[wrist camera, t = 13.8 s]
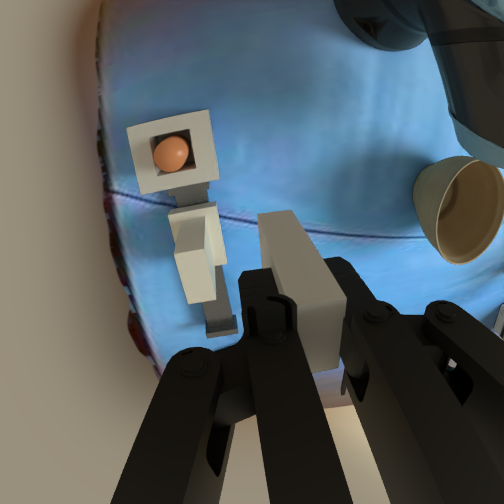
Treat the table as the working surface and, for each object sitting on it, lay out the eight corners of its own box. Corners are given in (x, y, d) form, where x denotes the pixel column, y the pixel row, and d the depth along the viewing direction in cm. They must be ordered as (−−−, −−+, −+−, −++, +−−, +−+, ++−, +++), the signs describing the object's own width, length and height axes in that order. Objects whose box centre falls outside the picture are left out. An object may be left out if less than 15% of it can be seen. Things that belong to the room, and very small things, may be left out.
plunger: (161, 137, 31) (150, 143, 25) (188, 131, 31) (183, 136, 25) (166, 163, 32) (157, 174, 27) (192, 157, 32) (189, 168, 27)
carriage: (169, 209, 38) (156, 247, 28) (215, 201, 38) (217, 236, 29) (183, 264, 42) (177, 313, 32) (226, 256, 42) (232, 304, 32)
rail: (170, 182, 39) (167, 189, 36) (207, 174, 39) (207, 181, 36) (206, 324, 50) (207, 338, 47) (236, 319, 50) (238, 333, 47)
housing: (146, 122, 35) (126, 127, 26) (208, 109, 35) (207, 109, 26) (157, 173, 38) (141, 195, 29) (217, 161, 38) (219, 179, 30)
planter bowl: (391, 241, 47) (427, 274, 38) (397, 143, 40) (443, 158, 30) (458, 230, 48) (495, 256, 39) (467, 145, 41) (512, 161, 31)
